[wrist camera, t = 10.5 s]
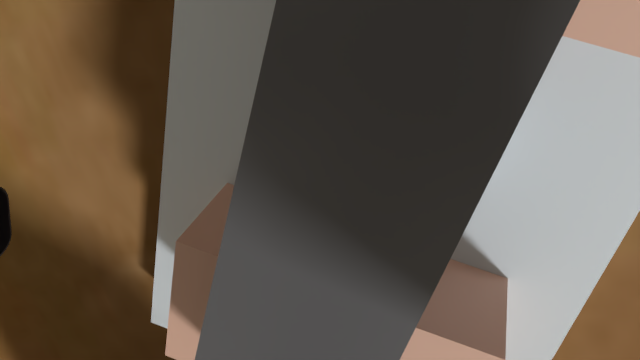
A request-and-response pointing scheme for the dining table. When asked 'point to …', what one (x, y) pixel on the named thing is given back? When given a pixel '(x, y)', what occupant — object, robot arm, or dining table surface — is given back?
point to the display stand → (489, 216)
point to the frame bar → (366, 168)
